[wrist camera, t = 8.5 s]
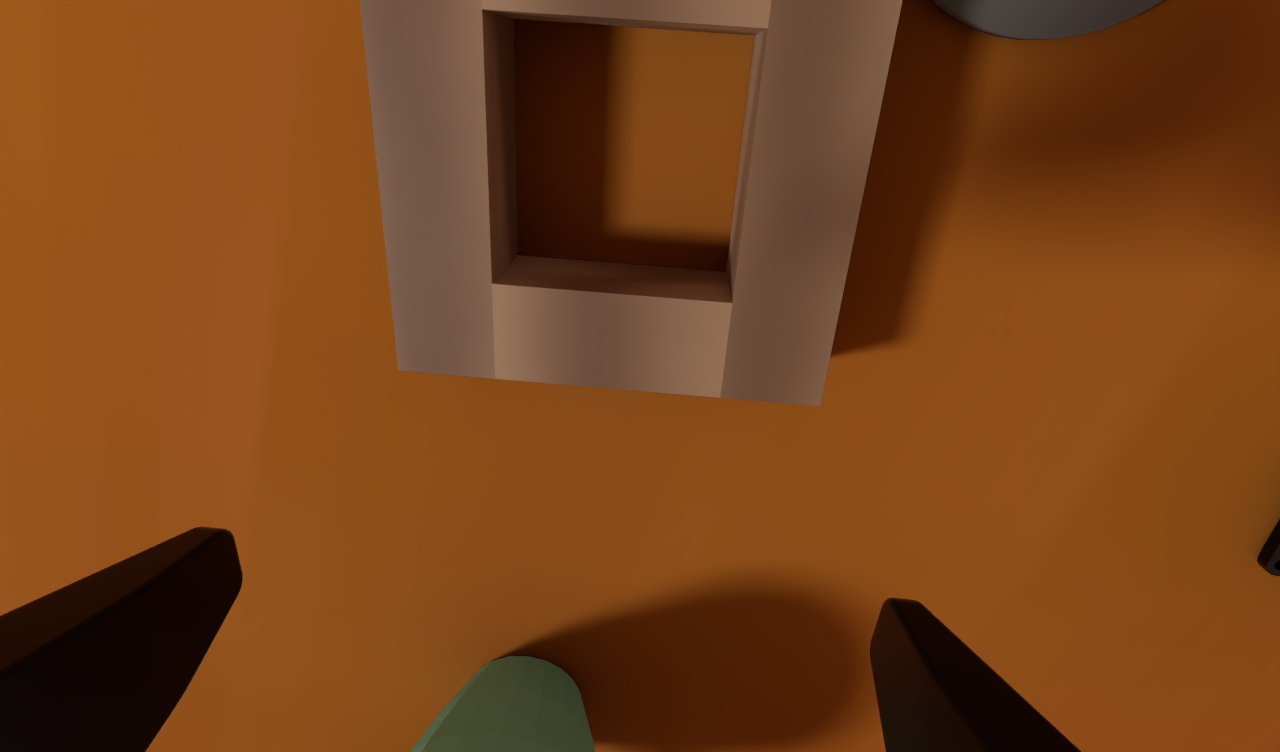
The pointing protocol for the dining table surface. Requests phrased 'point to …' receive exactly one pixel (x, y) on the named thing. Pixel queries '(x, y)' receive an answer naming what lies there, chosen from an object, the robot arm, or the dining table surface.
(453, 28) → the frame
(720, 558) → the dining table surface
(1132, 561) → the dining table surface
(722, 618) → the dining table surface
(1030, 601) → the dining table surface
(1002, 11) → the coaster
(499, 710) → the mug
